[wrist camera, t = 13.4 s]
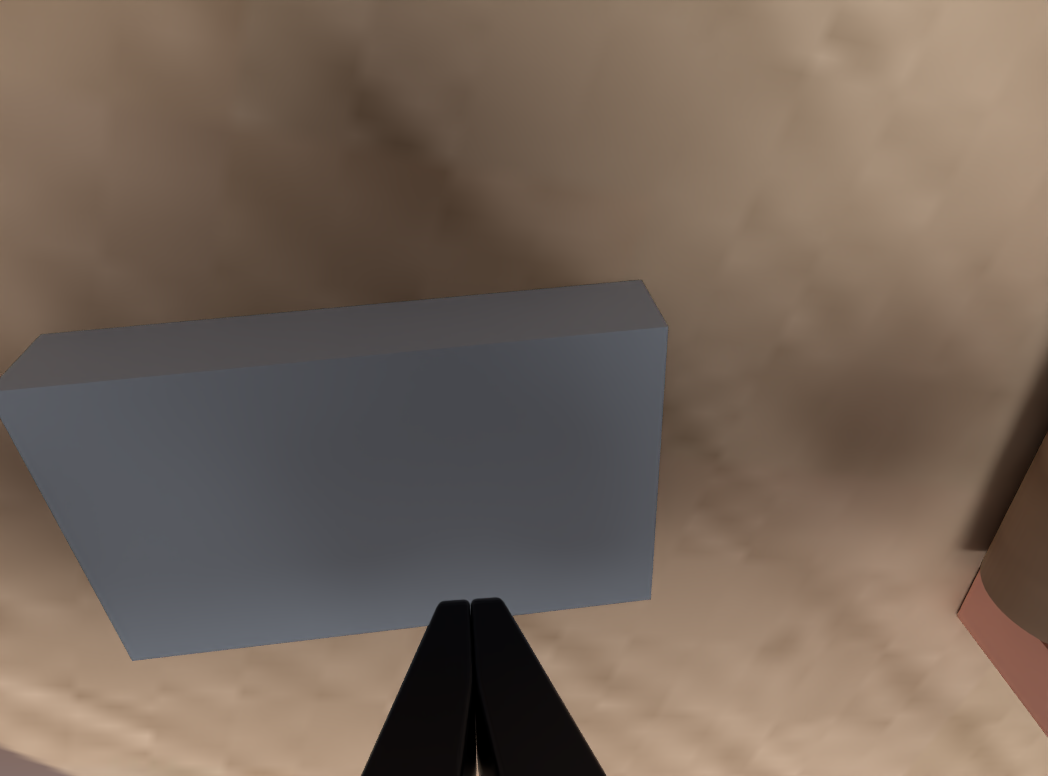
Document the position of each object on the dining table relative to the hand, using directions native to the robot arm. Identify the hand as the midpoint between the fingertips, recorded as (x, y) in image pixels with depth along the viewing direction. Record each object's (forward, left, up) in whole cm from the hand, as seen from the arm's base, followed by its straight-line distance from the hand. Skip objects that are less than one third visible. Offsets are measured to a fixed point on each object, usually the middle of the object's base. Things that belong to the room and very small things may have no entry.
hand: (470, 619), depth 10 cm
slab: (+1, 0, -4) cm, 4 cm away
